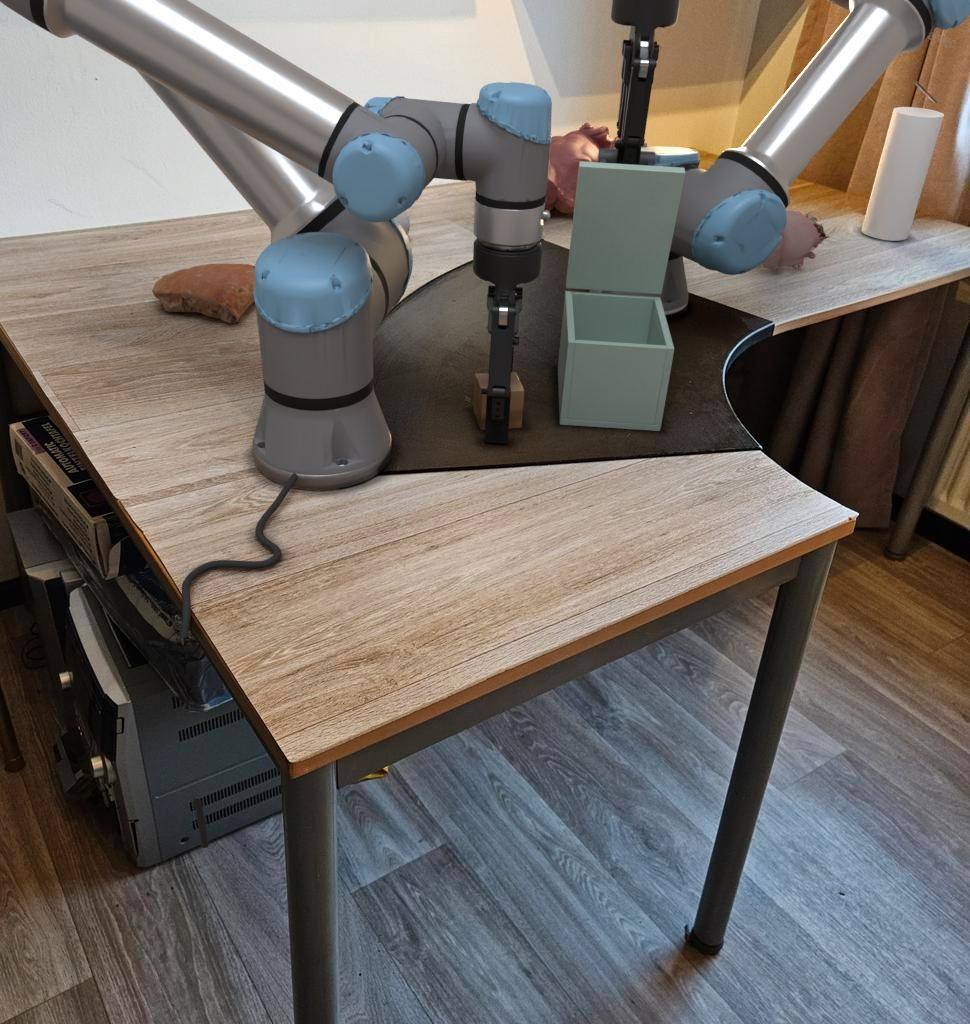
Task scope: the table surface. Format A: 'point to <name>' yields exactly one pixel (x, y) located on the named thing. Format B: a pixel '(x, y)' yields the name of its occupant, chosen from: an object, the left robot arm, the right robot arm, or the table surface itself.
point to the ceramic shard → (208, 290)
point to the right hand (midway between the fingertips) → (622, 197)
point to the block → (515, 400)
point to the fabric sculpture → (573, 163)
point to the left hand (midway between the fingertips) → (498, 417)
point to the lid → (623, 224)
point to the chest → (613, 361)
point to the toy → (796, 241)
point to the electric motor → (404, 221)
